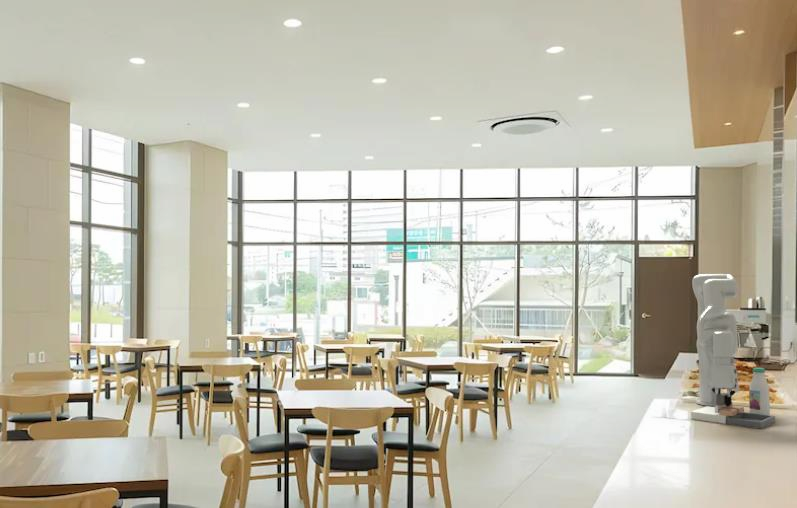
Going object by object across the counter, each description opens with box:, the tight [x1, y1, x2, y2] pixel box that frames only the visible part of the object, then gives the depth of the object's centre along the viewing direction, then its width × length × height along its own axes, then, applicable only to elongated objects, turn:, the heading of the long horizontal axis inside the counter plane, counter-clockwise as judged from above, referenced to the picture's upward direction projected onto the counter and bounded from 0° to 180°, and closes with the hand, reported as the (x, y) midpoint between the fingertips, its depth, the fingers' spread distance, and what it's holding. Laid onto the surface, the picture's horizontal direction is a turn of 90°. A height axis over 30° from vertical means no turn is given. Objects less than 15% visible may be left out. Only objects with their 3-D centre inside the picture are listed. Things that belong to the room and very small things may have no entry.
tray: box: [726, 411, 776, 430], centre depth 291 cm, size 16×13×2 cm
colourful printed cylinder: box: [748, 367, 771, 416], centre depth 307 cm, size 8×8×20 cm
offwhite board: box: [690, 405, 730, 424], centre depth 301 cm, size 16×14×3 cm
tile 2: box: [727, 404, 745, 413], centre depth 299 cm, size 5×5×2 cm
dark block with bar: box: [714, 392, 733, 413], centre depth 298 cm, size 15×3×7 cm, turn 134°
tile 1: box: [719, 408, 737, 416], centre depth 293 cm, size 5×5×2 cm
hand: (723, 404), depth 298 cm, fingers closed on dark block with bar, 3 cm apart
